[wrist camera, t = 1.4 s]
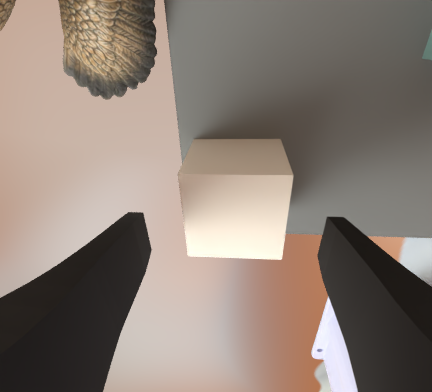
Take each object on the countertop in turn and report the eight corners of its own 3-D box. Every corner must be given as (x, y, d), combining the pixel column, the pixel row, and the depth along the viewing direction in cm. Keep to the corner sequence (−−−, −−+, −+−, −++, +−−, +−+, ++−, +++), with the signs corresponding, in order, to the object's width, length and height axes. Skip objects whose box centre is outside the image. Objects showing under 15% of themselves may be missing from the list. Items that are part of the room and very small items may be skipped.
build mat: (447, 234, 16) (452, 238, 16) (190, 226, 17) (189, 230, 17) (766, -325, 6) (796, -344, 6) (140, -240, 8) (136, -252, 8)
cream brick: (273, 210, 16) (281, 259, 12) (199, 209, 16) (187, 256, 13) (280, 138, 13) (293, 175, 10) (193, 139, 14) (177, 174, 10)
